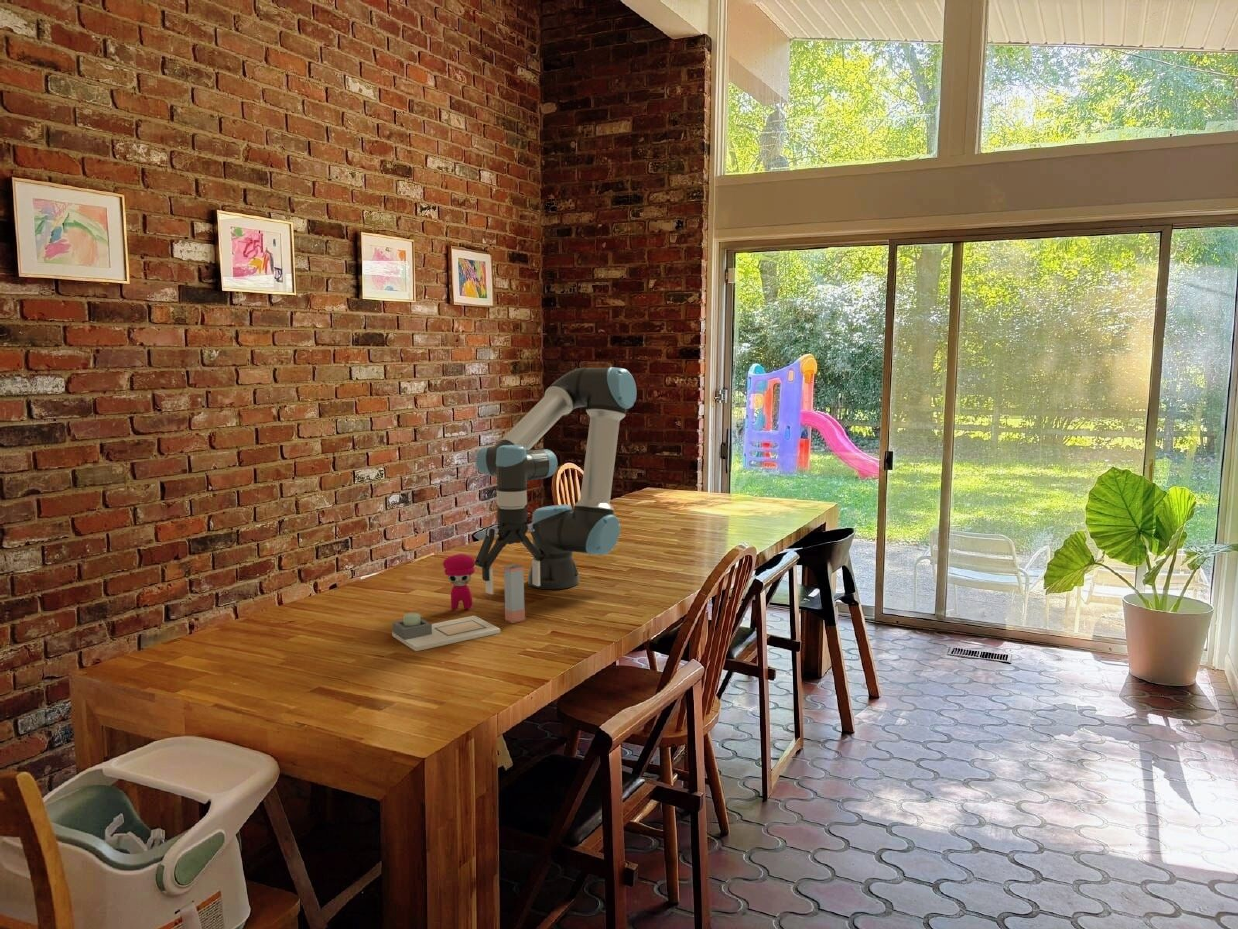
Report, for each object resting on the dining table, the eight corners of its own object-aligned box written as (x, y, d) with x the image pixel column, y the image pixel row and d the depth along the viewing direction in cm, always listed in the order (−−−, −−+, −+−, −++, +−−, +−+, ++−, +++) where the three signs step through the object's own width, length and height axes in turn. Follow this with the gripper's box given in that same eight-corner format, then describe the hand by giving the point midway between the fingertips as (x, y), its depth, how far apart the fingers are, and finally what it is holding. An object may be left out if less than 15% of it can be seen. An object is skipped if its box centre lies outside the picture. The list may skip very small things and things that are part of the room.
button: (416, 623, 215) (416, 611, 215) (423, 627, 212) (422, 615, 212) (401, 626, 213) (400, 614, 212) (407, 631, 210) (407, 618, 209)
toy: (445, 615, 230) (443, 559, 228) (443, 606, 238) (441, 552, 236) (478, 612, 232) (476, 557, 231) (475, 604, 240) (473, 550, 238)
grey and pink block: (517, 617, 228) (516, 564, 226) (524, 620, 225) (523, 566, 224) (505, 619, 226) (503, 566, 224) (512, 623, 223) (510, 569, 221)
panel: (474, 619, 227) (474, 606, 226) (500, 632, 215) (500, 619, 215) (392, 636, 214) (391, 622, 213) (415, 651, 203) (414, 636, 202)
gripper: (546, 500, 232) (547, 579, 235) (460, 509, 218) (462, 593, 220) (561, 503, 226) (562, 584, 229) (473, 513, 212) (475, 599, 214)
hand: (513, 589), depth 224 cm, fingers open, 13 cm apart
